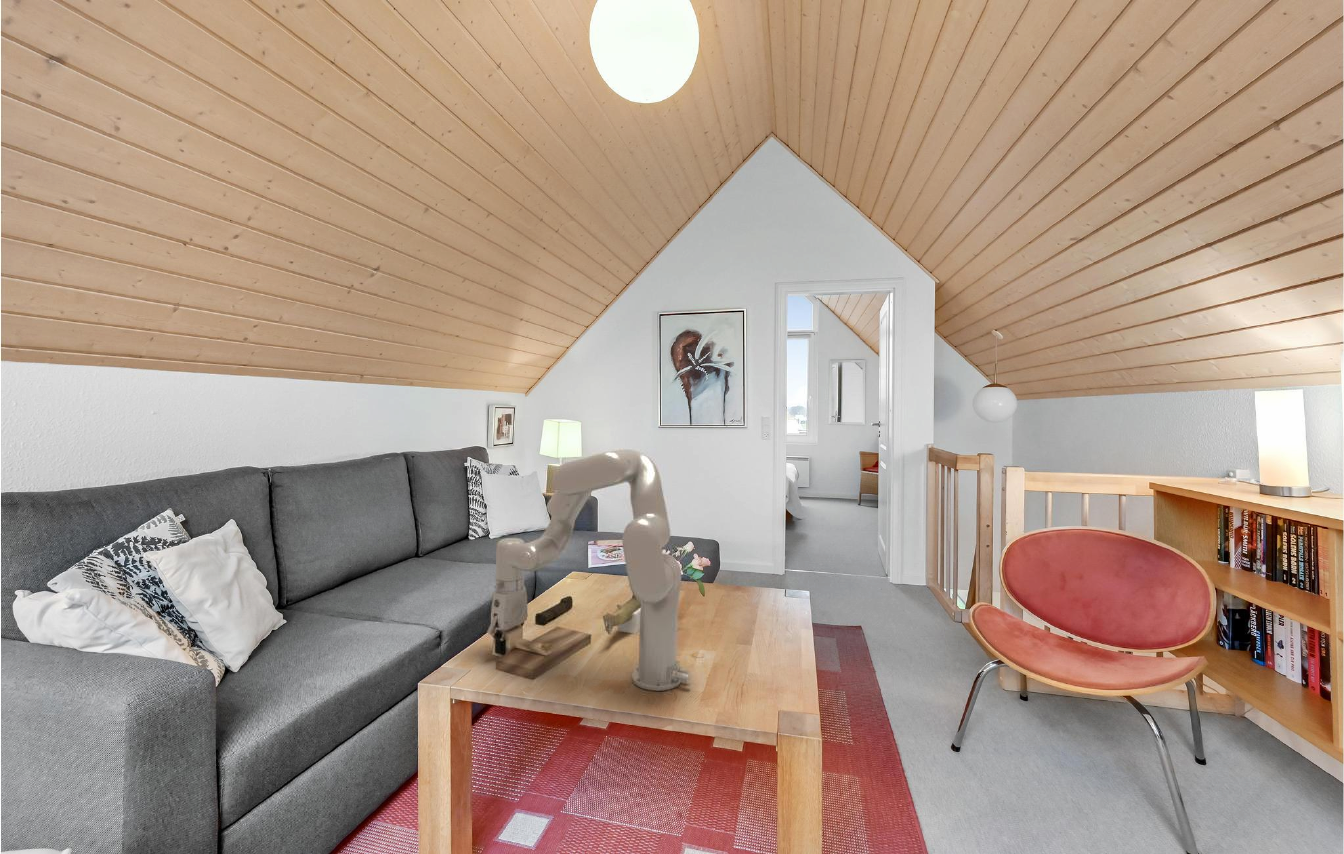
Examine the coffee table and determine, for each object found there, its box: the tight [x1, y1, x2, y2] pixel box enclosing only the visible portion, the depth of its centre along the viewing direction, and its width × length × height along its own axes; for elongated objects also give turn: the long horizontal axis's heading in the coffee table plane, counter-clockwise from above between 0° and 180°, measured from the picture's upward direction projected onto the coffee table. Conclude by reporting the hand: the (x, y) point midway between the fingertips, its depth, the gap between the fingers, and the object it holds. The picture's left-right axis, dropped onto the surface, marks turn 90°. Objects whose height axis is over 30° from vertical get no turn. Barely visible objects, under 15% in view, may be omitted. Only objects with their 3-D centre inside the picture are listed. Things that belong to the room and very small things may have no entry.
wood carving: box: [602, 594, 641, 635], centre depth 170 cm, size 9×35×11 cm, turn 161°
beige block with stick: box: [492, 626, 552, 658], centre depth 149 cm, size 17×5×7 cm, turn 65°
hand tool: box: [534, 595, 574, 626], centre depth 181 cm, size 19×4×5 cm, turn 156°
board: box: [495, 626, 592, 680], centre depth 151 cm, size 12×26×3 cm, turn 155°
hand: (507, 649), depth 151 cm, fingers closed on beige block with stick, 5 cm apart
